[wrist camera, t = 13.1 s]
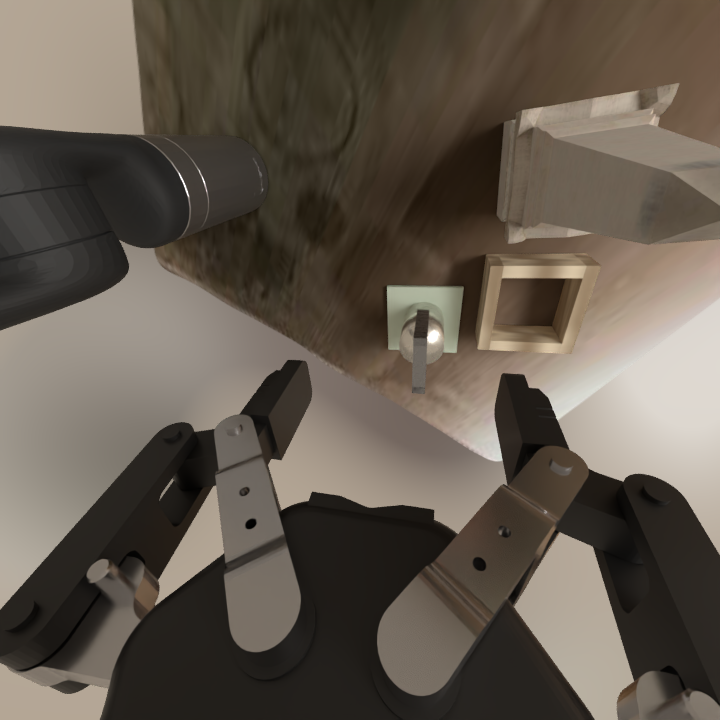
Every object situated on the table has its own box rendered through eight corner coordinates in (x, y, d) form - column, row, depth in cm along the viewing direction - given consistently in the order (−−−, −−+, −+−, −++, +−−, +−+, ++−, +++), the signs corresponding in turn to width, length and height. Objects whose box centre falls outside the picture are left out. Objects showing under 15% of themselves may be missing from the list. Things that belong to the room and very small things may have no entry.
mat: (388, 347, 55) (388, 349, 55) (387, 285, 49) (386, 286, 49) (456, 350, 53) (456, 352, 53) (463, 286, 47) (463, 287, 46)
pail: (404, 341, 53) (395, 391, 43) (404, 294, 49) (394, 337, 38) (441, 343, 52) (442, 395, 42) (445, 295, 48) (446, 339, 37)
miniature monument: (585, 209, 39) (824, 326, 15) (492, 218, 42) (564, 332, 17) (609, 99, 33) (1058, -5, 9) (500, 118, 36) (622, 75, 12)
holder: (475, 332, 51) (477, 349, 47) (486, 254, 44) (490, 266, 40) (560, 335, 48) (571, 353, 44) (585, 253, 42) (601, 265, 37)
